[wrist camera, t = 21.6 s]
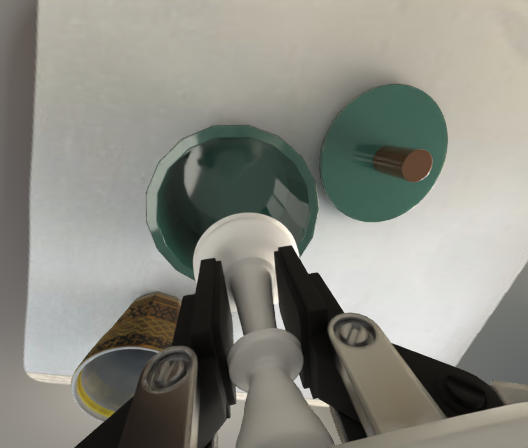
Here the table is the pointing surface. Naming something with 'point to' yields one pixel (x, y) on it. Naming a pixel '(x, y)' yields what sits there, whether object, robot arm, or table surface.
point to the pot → (227, 189)
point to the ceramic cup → (124, 355)
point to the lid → (383, 152)
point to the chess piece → (261, 334)
